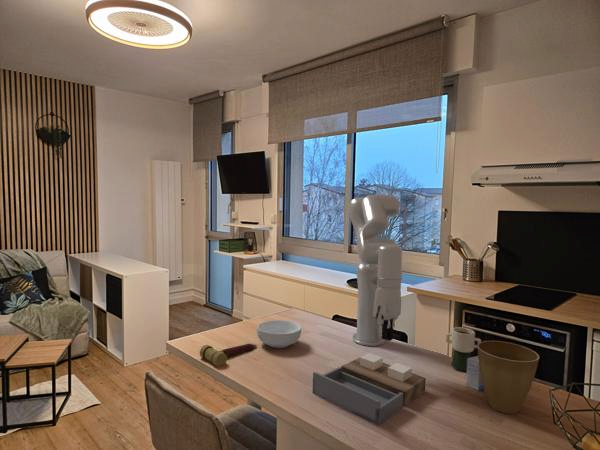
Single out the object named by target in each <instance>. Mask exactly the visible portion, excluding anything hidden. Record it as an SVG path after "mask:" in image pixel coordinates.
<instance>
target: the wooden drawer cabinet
mask: <svg viewBox="0 0 600 450" xmlns="http://www.w3.org/2000/svg"><path fill="white" fill-rule="evenodd" d="M390 366H392V365H391V364H387V363H385V362H383V364H382V366H381V367H379V368H377V369H375V370H371V369H369V368H366V367H364V366H361V365H360V357H357V358H356V359H354V360H352V361H349V362H347V363H345V364H343V365H341V366H340V368H341V371H342V372H344V373H347V374H349V375H352V376H354V377H356V378H359V379H361V380H364V381H366V382H369V383H371V384H373V385H376V386H378V387H381V388H383V389H385V390H388V391H390V392H393V393H395V394H399V393H400V392H401V393H403V407H405V406H407V405H408V404H410V403H411V402H412V401H414V400H415V399H417V398H418V397H419V396H421V395H422V394H424V393H425V392H426V383H427V382H426V380H427V379H426V377H423V376H420V375H418V374H415V373H413V372H412V376H411V377H410V378H408V379H406V380H405V381H400V380H397V379H395V378H392V377H390V376H388V367H390Z"/></svg>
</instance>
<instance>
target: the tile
mask: <svg viewBox="0 0 600 450" xmlns="http://www.w3.org/2000/svg"><path fill="white" fill-rule="evenodd" d="M412 371H413V368H412V367H410V366H408V365H404V364H401V363H399V362H396V363H394V364H392V365H391V366H390V367H388V376H390V377H392V378H395V379H397V380H400V381H405V380H406V379H408V378H410V377H411V376H412V373H413V372H412Z"/></svg>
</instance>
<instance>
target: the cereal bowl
mask: <svg viewBox="0 0 600 450" xmlns="http://www.w3.org/2000/svg"><path fill="white" fill-rule="evenodd" d="M256 333H257V338H258V339H259V340H260V342H261V343H263V344H265V345H268V346H269V347H270V348H274V349H284V348H287V347H289V346H291V345H293V344H295V343H296V342H298V341H299V340H300V338H301V336H302V326H301V325H300V324H299V323H297V322H294V321H290V320H278V319H277V320H275V319H274V320H267V321H264V322H261V323H259V324H257V326H256Z"/></svg>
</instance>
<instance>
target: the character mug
mask: <svg viewBox="0 0 600 450" xmlns="http://www.w3.org/2000/svg"><path fill="white" fill-rule="evenodd" d="M450 337H451V339H450ZM445 342H446V343H449V344H451V348H452V349H453V350H454V351H453V355H452V360H451V366H452V367H453V368H454V369H456V370H459V371H467V359H468V358H472V355H471V354H472V352H474V350H475V349H477V345H478V343H480V342H482V339H481V338H478V337H476V332H475V330H473V329H471V328H468V327H461V326H460V327H459V326H457V327H452V329H451V333H450V332H446V333H445ZM475 342H477V344H476V343H475Z"/></svg>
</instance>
